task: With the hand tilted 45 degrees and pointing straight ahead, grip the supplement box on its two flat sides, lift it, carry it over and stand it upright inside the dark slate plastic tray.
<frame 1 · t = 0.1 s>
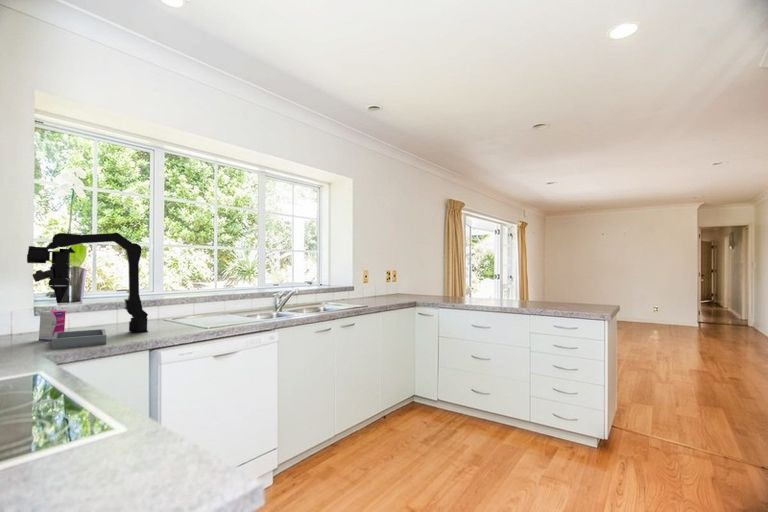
hand: (59, 301, 162), 15 cm above the countertop, tool pointing down, fingers open, 9 cm apart
supplement box: (51, 340, 159), on the countertop
tray: (80, 342, 154), on the countertop
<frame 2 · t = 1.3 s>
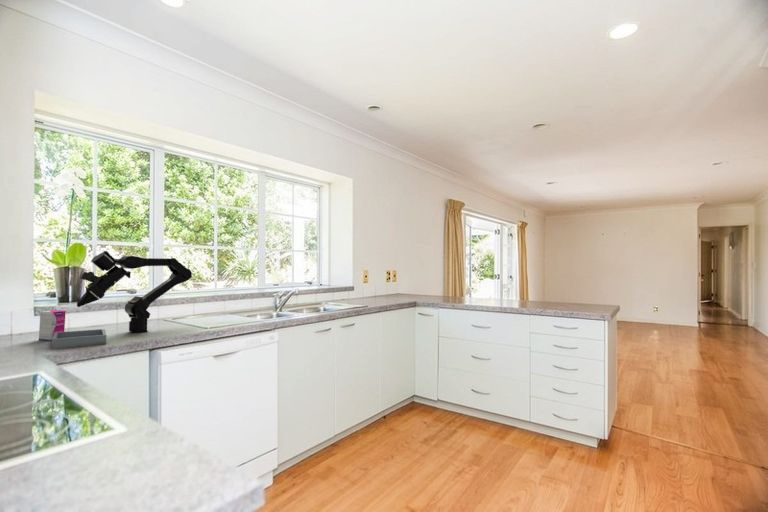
hand: (77, 305, 164), 13 cm above the countertop, tool tilted 45°, fingers open, 9 cm apart
nothing on the countertop moved.
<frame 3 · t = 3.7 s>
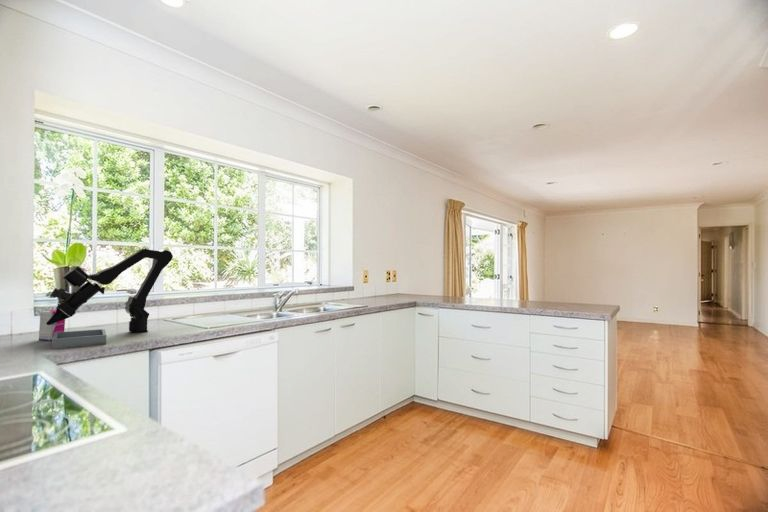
hand: (47, 323, 158), 7 cm above the countertop, tool tilted 45°, fingers closed on supplement box, 8 cm apart
supplement box: (51, 339, 159), on the countertop, touching gripper
when the fingers open (9 cm above the countertop, at t = 9.0 s): supplement box stays where it is, resting on tray.
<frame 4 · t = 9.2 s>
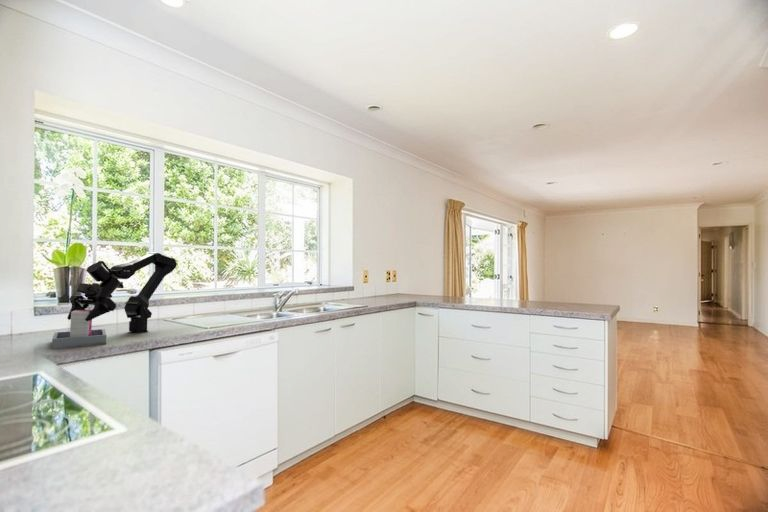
hand: (77, 319, 153), 9 cm above the countertop, tool tilted 45°, fingers open, 9 cm apart
supplement box: (80, 340, 154), point 1 cm above the countertop, touching tray
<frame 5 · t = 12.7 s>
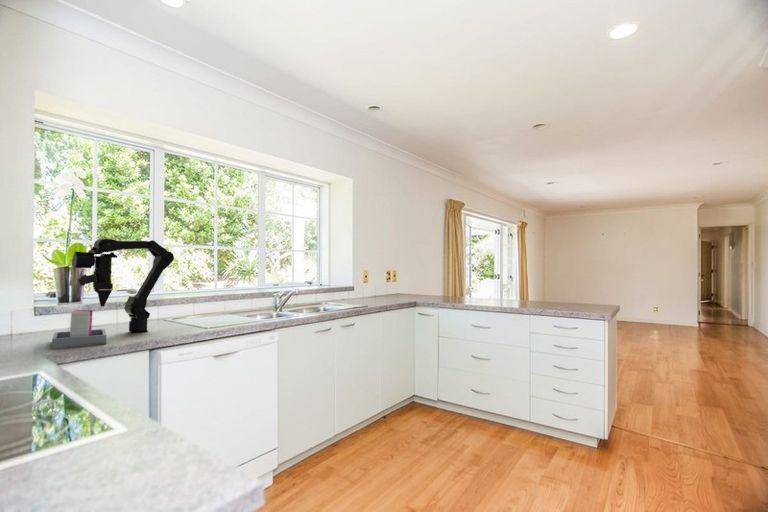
hand: (101, 305, 168), 13 cm above the countertop, tool pointing down, fingers open, 9 cm apart
nothing on the countertop moved.
at the end: supplement box inside the target area on the tray (0.2 cm from its centre), point 0.8 cm above the tray's base; supplement box tilted 0°; the gripper is holding nothing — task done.
